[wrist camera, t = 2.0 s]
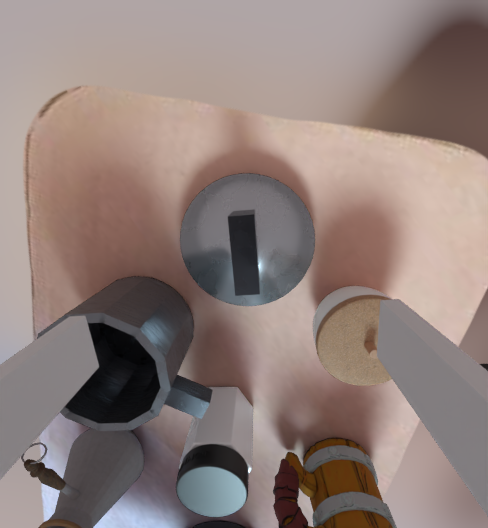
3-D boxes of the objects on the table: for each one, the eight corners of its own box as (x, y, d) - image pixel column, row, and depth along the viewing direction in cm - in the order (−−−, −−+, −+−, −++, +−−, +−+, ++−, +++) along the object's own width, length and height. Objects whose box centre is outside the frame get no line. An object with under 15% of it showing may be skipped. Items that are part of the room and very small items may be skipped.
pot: (200, 391, 40) (179, 463, 30) (84, 342, 39) (20, 399, 29) (239, 316, 37) (231, 368, 26) (112, 259, 35) (50, 290, 25)
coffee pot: (152, 471, 46) (103, 602, 31) (86, 465, 46) (8, 591, 32) (146, 365, 40) (83, 466, 25) (71, 358, 40) (-34, 455, 26)
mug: (357, 493, 45) (404, 638, 30) (262, 470, 44) (264, 606, 30) (382, 446, 42) (448, 582, 27) (281, 420, 41) (293, 545, 27)
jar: (212, 374, 40) (194, 451, 28) (261, 397, 40) (262, 481, 29) (188, 416, 42) (162, 503, 30) (234, 437, 43) (226, 529, 31)
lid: (312, 295, 35) (327, 326, 28) (193, 302, 37) (176, 333, 29) (310, 168, 31) (328, 162, 23) (176, 180, 32) (149, 178, 24)
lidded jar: (309, 351, 38) (325, 403, 29) (300, 280, 35) (315, 313, 26) (388, 341, 37) (430, 392, 28) (385, 268, 34) (431, 297, 25)
